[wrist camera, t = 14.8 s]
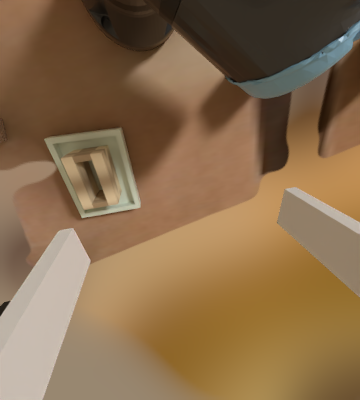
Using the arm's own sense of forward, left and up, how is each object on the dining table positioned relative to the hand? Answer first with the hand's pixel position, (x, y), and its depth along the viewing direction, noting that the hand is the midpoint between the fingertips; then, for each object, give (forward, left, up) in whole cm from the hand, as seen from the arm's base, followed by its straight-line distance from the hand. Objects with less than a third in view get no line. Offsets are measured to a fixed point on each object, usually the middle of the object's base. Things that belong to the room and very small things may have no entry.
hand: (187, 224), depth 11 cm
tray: (+5, -13, -29) cm, 32 cm away
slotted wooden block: (+4, -13, -28) cm, 31 cm away
